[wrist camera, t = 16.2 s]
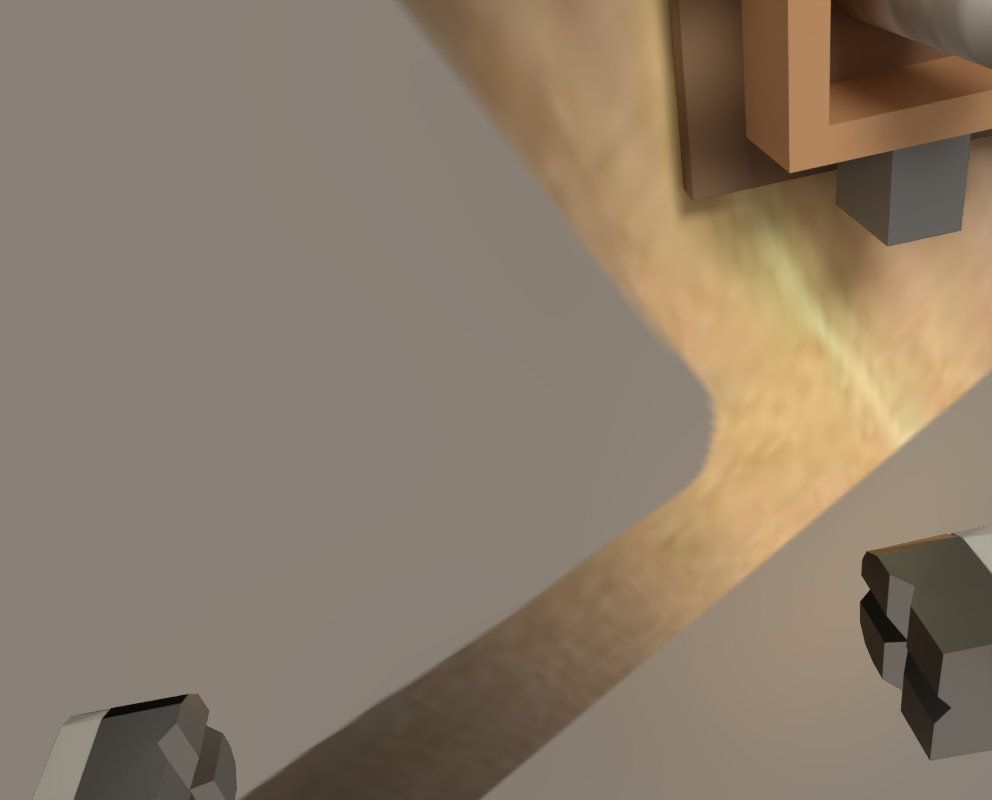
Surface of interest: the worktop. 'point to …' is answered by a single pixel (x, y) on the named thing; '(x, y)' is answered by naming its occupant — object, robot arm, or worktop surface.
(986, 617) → the robot arm
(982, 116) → the collar
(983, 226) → the worktop surface
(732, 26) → the post base
